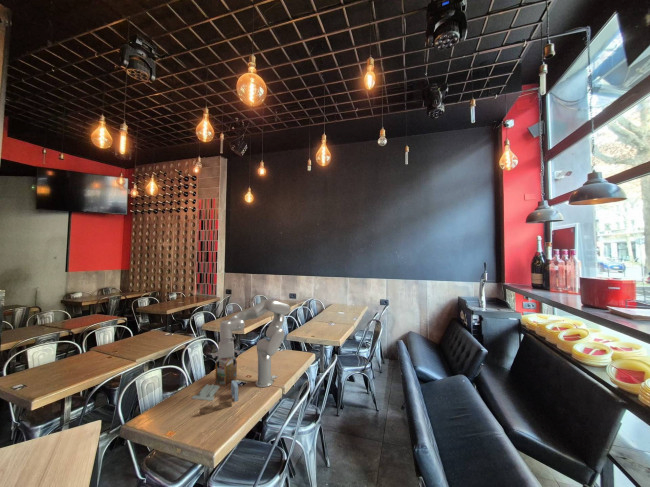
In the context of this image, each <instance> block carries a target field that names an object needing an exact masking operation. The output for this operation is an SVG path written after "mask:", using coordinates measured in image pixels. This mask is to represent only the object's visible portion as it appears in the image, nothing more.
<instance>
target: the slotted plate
mask: <svg viewBox="0 0 650 487" xmlns="http://www.w3.org/2000/svg"><path fill="white" fill-rule="evenodd" d="M236 381H237V380H233V381H231V383H230V384H231V385H230V388H231V389H230V393H231V394H230V396H231V397H232V398H233V401H234V402H238V401H239V385H238V384H237V382H236Z"/></svg>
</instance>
